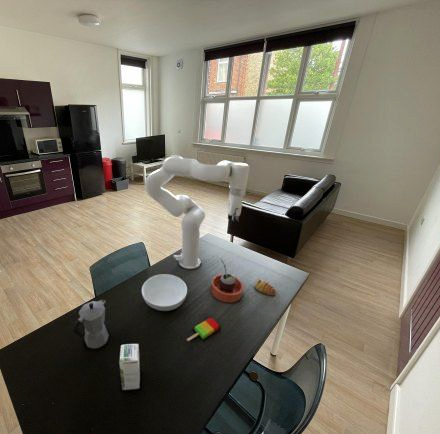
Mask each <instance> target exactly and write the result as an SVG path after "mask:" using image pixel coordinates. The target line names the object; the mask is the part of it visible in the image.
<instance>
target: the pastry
mask: <svg viewBox="0 0 440 434" xmlns="http://www.w3.org/2000/svg"><path fill="white" fill-rule="evenodd" d="M254 288H255V289H256V291H258V292H260V293H262V294H264V295H268V296H274V295H275V294H276V292H277V290H276V289H275V288H274V286H273V285H272V284H271V283H269V282H268V281H266V280H262V279H260V278H259V279H258V280H257V281H256V282H255V284H254Z"/></svg>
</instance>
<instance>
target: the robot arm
mask: <svg viewBox="0 0 440 434" xmlns="http://www.w3.org/2000/svg"><path fill="white" fill-rule="evenodd" d="M249 174H250V165H248V164H247V163H244V162H233V161H229V160H221V161H219V162H218V163H217V164H207V163H206V164H205V163H202V162H200V161H198V160H197V159H196V158H188V157H187V158H186V157H184V158H183V157H182V156H181V155H179V154H174V155H171V156H170V157H169V156H168V157H167V158H166V159H164V161H163V162H162V165H161V166H160V168H159V169H157V170H154V171H153V172H150V173H149V174H148V175H147V176H146V178H145V180H144V189H145V191H146V193H147V195H148V196H149V197H150V198H151V199H153V200H154V201H155V202H156V203H157V204H159V205H160V206H161V207H162V208H163V209H164V210H165V211H167V212H168V213H169V214H170V215H171V216H172V217H174V218H175V217H176V218H179V217H181V216H182V215H183V214H184V216H183V218H182V220H181V223H180V224H181V253H180V254H179V255H176V254H174V255H173V259H175V261H176V262H178V265H179V266H180V267H182V268H184V269H186V270H194V269H198V268H199V267H200V265H201V259H200V258H199V249H200V239H201V237H200V235H201V234H200V227H201V225H202V223H203V222H204V221H205V218H206V213H205V211H204V209H203V207H201V206H200V205H199V204H197V203H196V202H195V201H194V200H193V199H192V198H191V197H189V196H187V195H185V194H178V195H174V194H173V193H171V191H169V190H168V189H165V188H163V187H162V186H164V185H166V184H167V183H168V182H169V181H170V180H172V179H173V178H174V177H175V176H179V177H180V176H181V177H190V178H194V179H197V180H200V181H205V182H213V183H221V182H225V181H226V180H227V179H228V178H230V179H229V187H228V195H229V196H228V200H227V205H226V209H227V213H228V214H227V219H228V220H230V229H239V228H238V227H239V221H240V220H239V219H240V216H241V213H242V207H243V197H244V196H245V195H246V191H247V186H248V179H249Z"/></svg>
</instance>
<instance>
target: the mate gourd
mask: <svg viewBox="0 0 440 434" xmlns="http://www.w3.org/2000/svg"><path fill="white" fill-rule="evenodd" d="M220 261H221V263H222V264H223V268H224V273H223V274H224V275H223V276H222V277H221V279H220V290H224V291H225V293H227V291H230V292H233V289H234V286H235V279H234V277H235V276H234V275H232V274H230V273H227V266H226V264H225V262H224V261H223V259H222V258H221V259H220ZM233 276H234V277H233Z"/></svg>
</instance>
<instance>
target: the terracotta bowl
mask: <svg viewBox="0 0 440 434" xmlns="http://www.w3.org/2000/svg"><path fill="white" fill-rule="evenodd" d="M224 274H225V273H222V274H217V275H215V276H214V277H213V278H212V279H211V285H210V291H211V294H212V295H213V296H214V297H215V298H216V299H217V300H219V301H220V302H223V303H230V304H231V303H236V302H238V301H239V300H240V299H241V298H242V296H243V291H244V285H243V282H242V281H241V280H240V279H239V278H238V277H236V276H234V275H232V276H233V277H234V279H235V286H234V289H233V292H230V291H227V293H225V291H224V290H220V279H221V277H222V276H223V275H224Z"/></svg>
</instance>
